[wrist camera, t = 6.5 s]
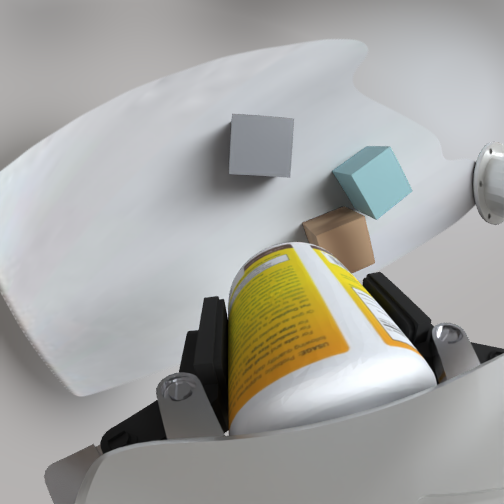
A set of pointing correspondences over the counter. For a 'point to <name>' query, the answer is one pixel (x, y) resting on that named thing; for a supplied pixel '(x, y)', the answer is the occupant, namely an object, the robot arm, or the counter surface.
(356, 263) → the walnut block
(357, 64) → the counter surface
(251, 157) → the gray block
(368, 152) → the teal block
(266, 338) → the supplement bottle
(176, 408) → the robot arm
